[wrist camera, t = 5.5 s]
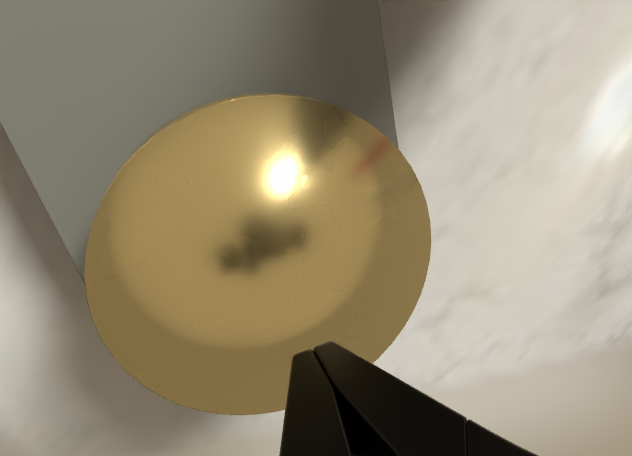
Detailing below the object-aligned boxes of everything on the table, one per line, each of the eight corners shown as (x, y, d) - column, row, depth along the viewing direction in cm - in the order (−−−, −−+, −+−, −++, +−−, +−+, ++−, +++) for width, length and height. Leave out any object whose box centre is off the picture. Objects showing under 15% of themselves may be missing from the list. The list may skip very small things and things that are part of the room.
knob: (346, 53, 16) (409, 52, 12) (387, 284, 20) (445, 346, 16) (55, 129, 14) (6, 161, 10) (167, 367, 18) (166, 460, 14)
